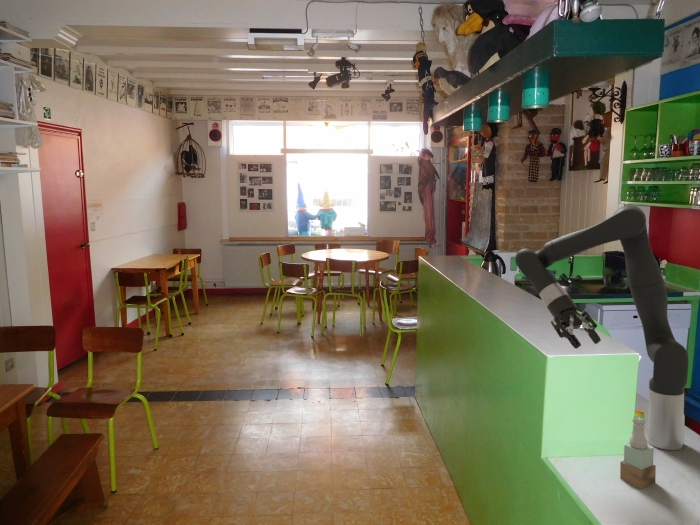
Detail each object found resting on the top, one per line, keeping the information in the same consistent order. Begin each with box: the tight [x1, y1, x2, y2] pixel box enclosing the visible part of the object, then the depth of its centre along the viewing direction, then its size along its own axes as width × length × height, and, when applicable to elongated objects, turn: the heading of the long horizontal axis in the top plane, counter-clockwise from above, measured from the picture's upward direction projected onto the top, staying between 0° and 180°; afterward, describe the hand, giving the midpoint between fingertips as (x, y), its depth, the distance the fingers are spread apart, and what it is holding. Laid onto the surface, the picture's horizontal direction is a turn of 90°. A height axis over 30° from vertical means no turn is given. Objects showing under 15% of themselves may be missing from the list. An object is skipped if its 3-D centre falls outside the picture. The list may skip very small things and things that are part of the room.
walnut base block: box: [619, 460, 657, 490], centre depth 142 cm, size 6×6×5 cm
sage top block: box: [623, 442, 655, 470], centre depth 141 cm, size 5×5×5 cm
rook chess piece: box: [628, 415, 649, 449], centre depth 140 cm, size 4×4×8 cm
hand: (588, 344), depth 154 cm, fingers open, 8 cm apart
